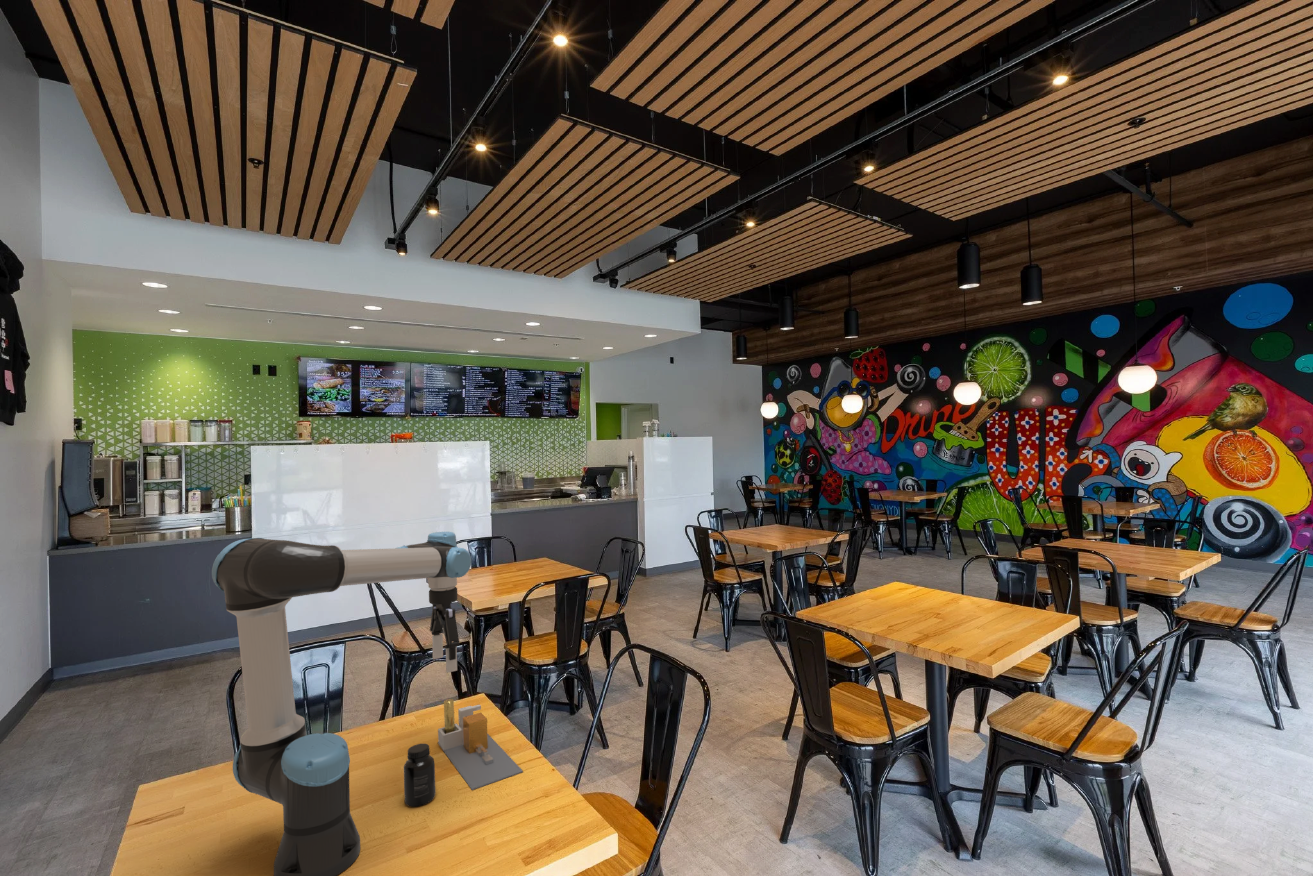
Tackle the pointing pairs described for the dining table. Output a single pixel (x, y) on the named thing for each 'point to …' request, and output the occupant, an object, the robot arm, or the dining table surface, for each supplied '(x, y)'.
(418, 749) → the supplement bottle
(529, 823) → the dining table surface
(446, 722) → the pin
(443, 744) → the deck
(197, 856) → the dining table surface
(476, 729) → the orange block with fittings
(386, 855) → the dining table surface
